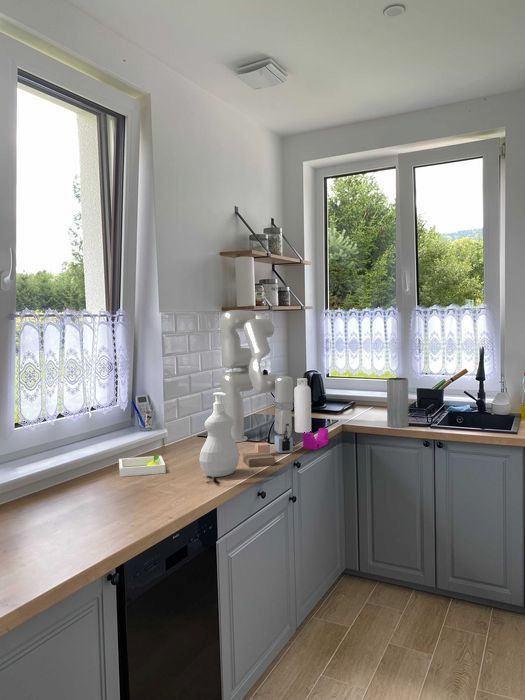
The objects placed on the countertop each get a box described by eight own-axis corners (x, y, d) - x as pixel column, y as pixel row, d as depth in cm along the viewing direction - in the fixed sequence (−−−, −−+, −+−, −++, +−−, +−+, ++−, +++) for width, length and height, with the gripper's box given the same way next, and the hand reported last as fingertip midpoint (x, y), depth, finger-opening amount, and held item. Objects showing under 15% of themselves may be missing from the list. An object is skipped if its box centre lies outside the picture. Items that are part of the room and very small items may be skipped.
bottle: (314, 435, 270) (313, 378, 269) (306, 438, 263) (305, 379, 262) (299, 434, 274) (298, 377, 274) (291, 437, 268) (290, 378, 267)
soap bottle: (215, 482, 189) (213, 396, 188) (191, 476, 196) (190, 394, 195) (247, 472, 202) (246, 391, 201) (224, 467, 209) (223, 389, 208)
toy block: (315, 452, 234) (315, 434, 234) (303, 450, 238) (302, 433, 237) (333, 446, 246) (333, 429, 246) (321, 444, 250) (321, 428, 249)
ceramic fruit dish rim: (119, 466, 213) (118, 458, 213) (161, 463, 218) (161, 455, 218) (120, 476, 198) (119, 468, 198) (165, 473, 202) (165, 464, 202)
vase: (388, 435, 266) (387, 379, 266) (386, 432, 276) (386, 377, 275) (409, 436, 265) (409, 379, 264) (407, 432, 275) (407, 377, 274)
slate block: (274, 449, 234) (274, 435, 234) (288, 448, 236) (288, 434, 236) (278, 453, 229) (278, 438, 228) (292, 452, 230) (292, 437, 230)
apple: (154, 482, 209) (156, 459, 207) (140, 479, 211) (141, 456, 210) (165, 476, 215) (166, 454, 214) (151, 473, 217) (152, 451, 216)
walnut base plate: (242, 461, 219) (242, 453, 218) (267, 459, 221) (267, 451, 221) (249, 467, 209) (249, 459, 209) (274, 465, 212) (274, 457, 212)
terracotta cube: (255, 455, 230) (254, 443, 230) (266, 454, 231) (266, 442, 231) (258, 457, 225) (258, 445, 225) (270, 456, 226) (269, 444, 226)
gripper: (269, 403, 239) (269, 445, 239) (281, 409, 222) (281, 454, 223) (285, 402, 241) (285, 444, 242) (299, 408, 224) (298, 453, 225)
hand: (283, 448), depth 232 cm, fingers closed on slate block, 5 cm apart
